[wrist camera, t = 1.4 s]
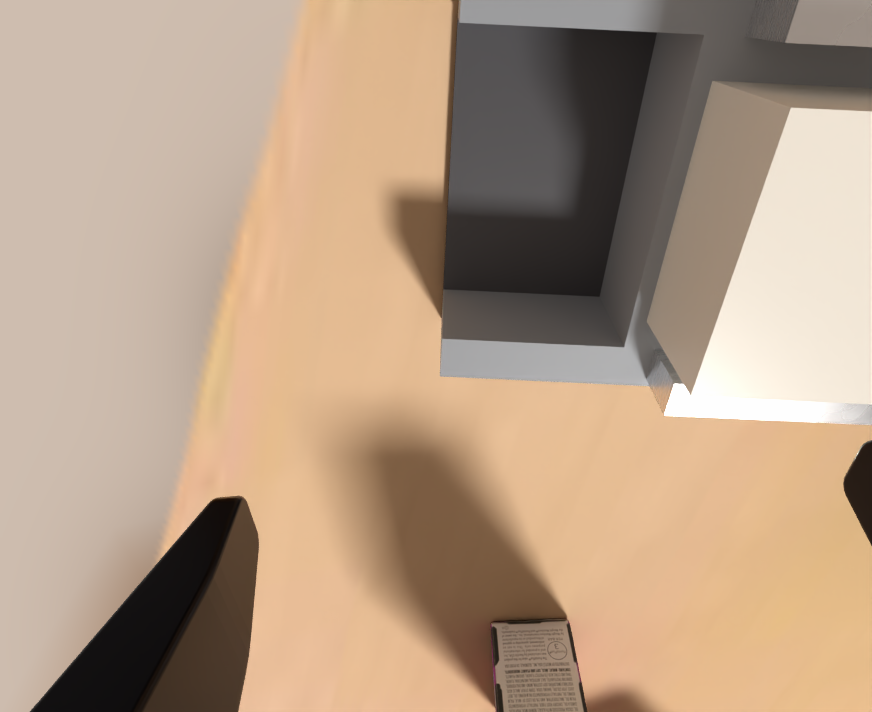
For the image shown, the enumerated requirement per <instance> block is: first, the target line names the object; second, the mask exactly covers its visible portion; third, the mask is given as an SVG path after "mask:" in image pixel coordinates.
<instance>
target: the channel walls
mask: <svg viewBox="0 0 872 712" xmlns="http://www.w3.org/2000/svg"><path fill="white" fill-rule="evenodd" d="M745 37H750V38H757V39H763V40H770V41H776V42H783V43H797V44H818V45H838V46H859V47H872V0H755V4H754V7H753V11H752V14H751V18H750V21H749V25H748V28H747V32H746V35H745ZM646 380H647V382H648V384H649V386H650V388H651V390H652V392H653V394H654V396H655V398H656V400H657V402H658V404H659V406H660V408H661V410H662V412H663V414H664V415H667V416H688V417H710V418H731V419H752V420H774V421H795V422H817V423H838V424H859V425H872V405H871V404H850V403H828V402H807V401H786V400H764V399H743V398H722V397H700V396H690V394H689V392H688V391H687V389H686V387H685V386H684V384H683V382H682V381H681V379H680V377H679V376H678V374H677V372H676V370H675V369H674V367H673V365H672V364H671V362H670V360H669V359H668V357H667V355H666V354H665V352H664V350H663V349H654V352H653V356H652V359H651V362H650V366H649V369H648V373H647V376H646Z"/></svg>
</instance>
